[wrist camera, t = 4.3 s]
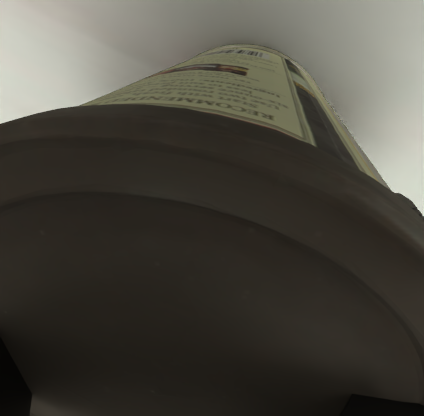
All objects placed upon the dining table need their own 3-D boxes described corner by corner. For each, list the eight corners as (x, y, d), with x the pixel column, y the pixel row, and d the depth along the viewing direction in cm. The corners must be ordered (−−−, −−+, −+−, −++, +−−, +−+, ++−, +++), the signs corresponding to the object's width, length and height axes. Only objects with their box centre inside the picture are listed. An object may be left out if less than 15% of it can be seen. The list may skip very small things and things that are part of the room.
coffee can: (208, 238, 21) (125, 507, 9) (119, 106, 17) (-217, 282, 5) (359, 182, 17) (552, 535, 5) (287, -6, 13) (403, -286, 1)
